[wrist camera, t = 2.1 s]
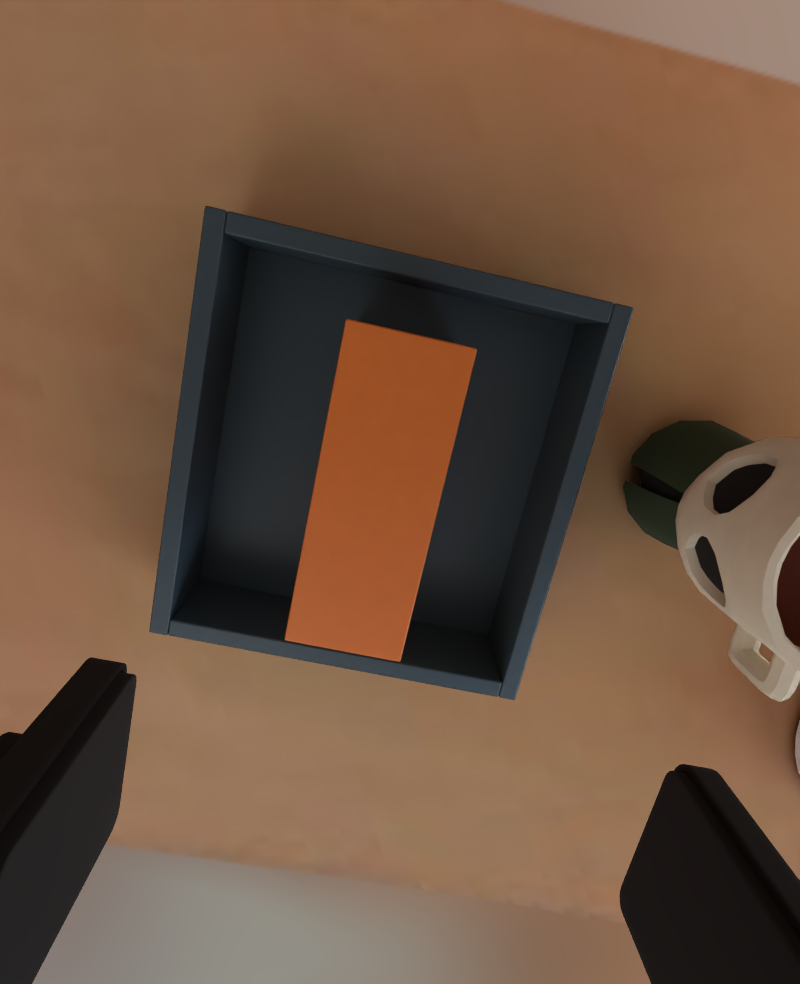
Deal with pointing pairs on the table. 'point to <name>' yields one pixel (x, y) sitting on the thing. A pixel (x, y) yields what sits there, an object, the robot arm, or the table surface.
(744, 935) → the robot arm
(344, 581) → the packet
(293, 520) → the bin
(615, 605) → the table surface
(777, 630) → the character mug
